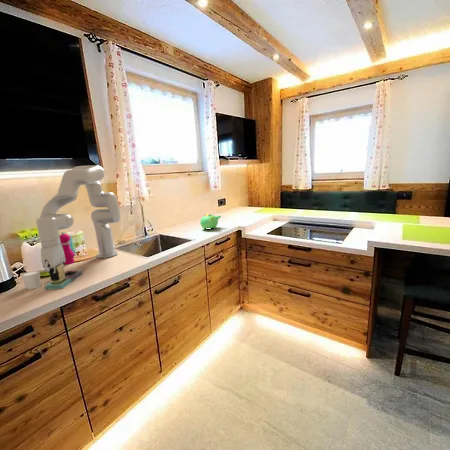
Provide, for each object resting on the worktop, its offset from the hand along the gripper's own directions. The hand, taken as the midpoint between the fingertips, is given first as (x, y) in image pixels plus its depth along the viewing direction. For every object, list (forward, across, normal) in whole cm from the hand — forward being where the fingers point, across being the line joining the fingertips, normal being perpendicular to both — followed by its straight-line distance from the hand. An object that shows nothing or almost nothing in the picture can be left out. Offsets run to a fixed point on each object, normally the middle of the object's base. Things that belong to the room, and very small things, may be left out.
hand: (58, 277), depth 115 cm
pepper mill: (+4, -32, -15) cm, 35 cm away
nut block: (+4, 0, 0) cm, 4 cm away
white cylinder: (+4, 0, -13) cm, 13 cm away
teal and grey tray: (+4, -4, 0) cm, 6 cm away
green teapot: (+4, -106, +72) cm, 128 cm away
